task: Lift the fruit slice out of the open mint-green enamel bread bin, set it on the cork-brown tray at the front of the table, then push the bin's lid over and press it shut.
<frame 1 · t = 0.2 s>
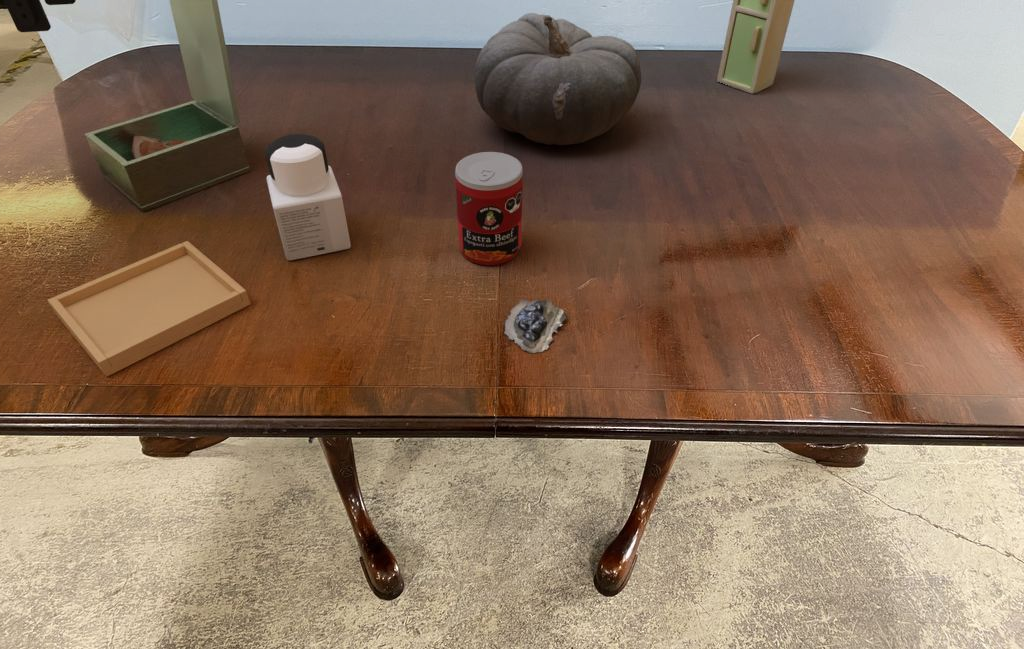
hand: (49, 16, 76), 23 cm above the table, tool pointing down, fingers open, 9 cm apart
container: (315, 240, 84), on the table
bread bin: (178, 175, 95), on the table
canned food: (490, 249, 82), on the table
gourd: (556, 126, 109), on the table
bin lid: (202, 49, 90), point 15 cm above the table, hinge at 95.0°
toy refrigerator: (742, 85, 122), on the table
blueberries: (535, 329, 71), on the table
tray: (154, 309, 73), on the table
fruit slice: (173, 172, 94), point 1 cm above the table, touching bread bin
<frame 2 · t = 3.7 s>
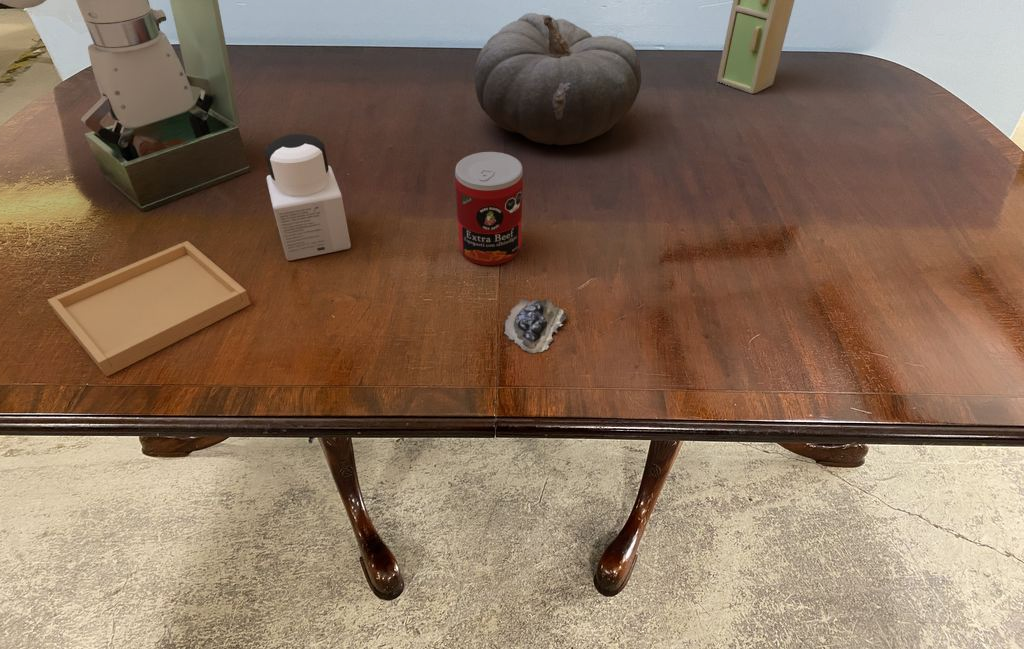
hand: (172, 156, 93), 3 cm above the table, tool pointing down, fingers open, 9 cm apart
bin lid: (202, 49, 90), point 15 cm above the table, hinge at 95.3°, touching gripper
everything else where it was.
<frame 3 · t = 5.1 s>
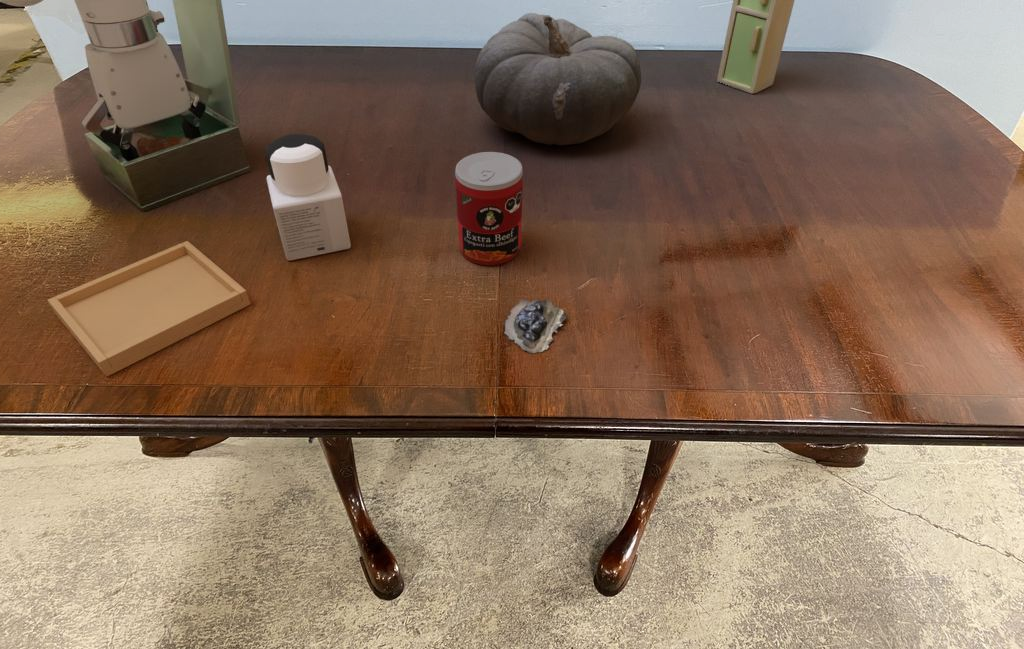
hand: (168, 160, 93), 2 cm above the table, tool pointing down, fingers closed on fruit slice, 7 cm apart
bin lid: (204, 49, 90), point 15 cm above the table, hinge at 96.8°
fruit slice: (171, 169, 94), point 1 cm above the table, touching gripper
everything else where it was.
when the fingers open (2 cm above the table, at t = 12.4 s): fruit slice stays where it is, resting on tray.
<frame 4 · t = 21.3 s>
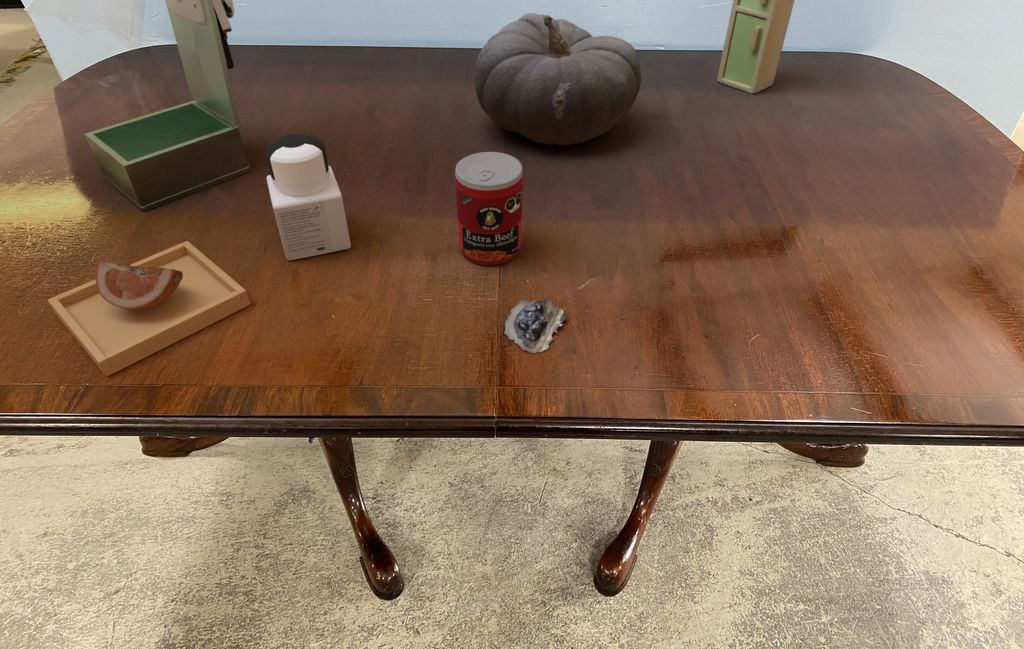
hand: (220, 69, 92), 12 cm above the table, tool pointing down, fingers closed
bin lid: (200, 50, 89), point 15 cm above the table, hinge at 92.6°, touching gripper
fruit slice: (151, 304, 73), point 1 cm above the table, touching tray
everything else where it was.
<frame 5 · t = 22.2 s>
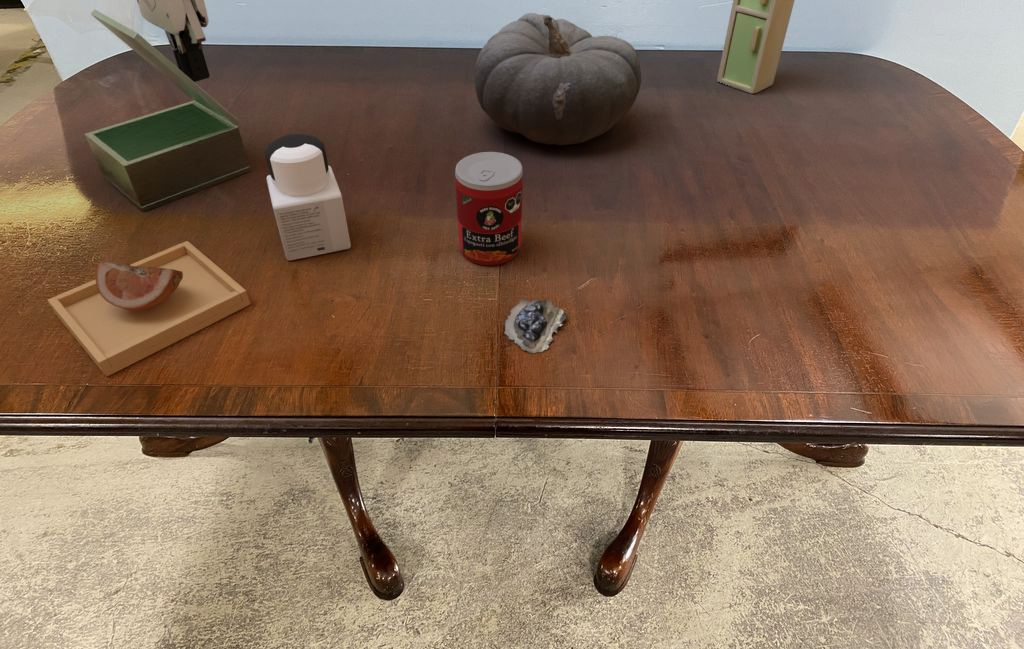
hand: (196, 78, 91), 12 cm above the table, tool pointing down, fingers closed
bin lid: (168, 69, 88), point 14 cm above the table, hinge at 56.6°, touching gripper
everything else where it was.
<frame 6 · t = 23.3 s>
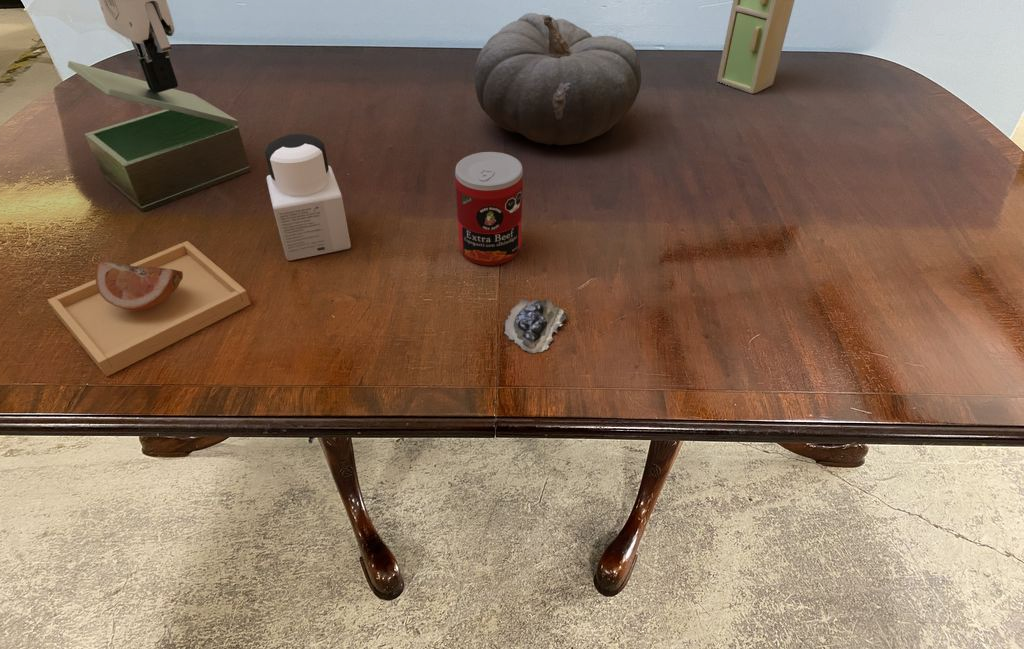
hand: (164, 88, 88), 12 cm above the table, tool pointing down, fingers closed
bin lid: (156, 94, 88), point 11 cm above the table, hinge at 31.2°
everything else where it was.
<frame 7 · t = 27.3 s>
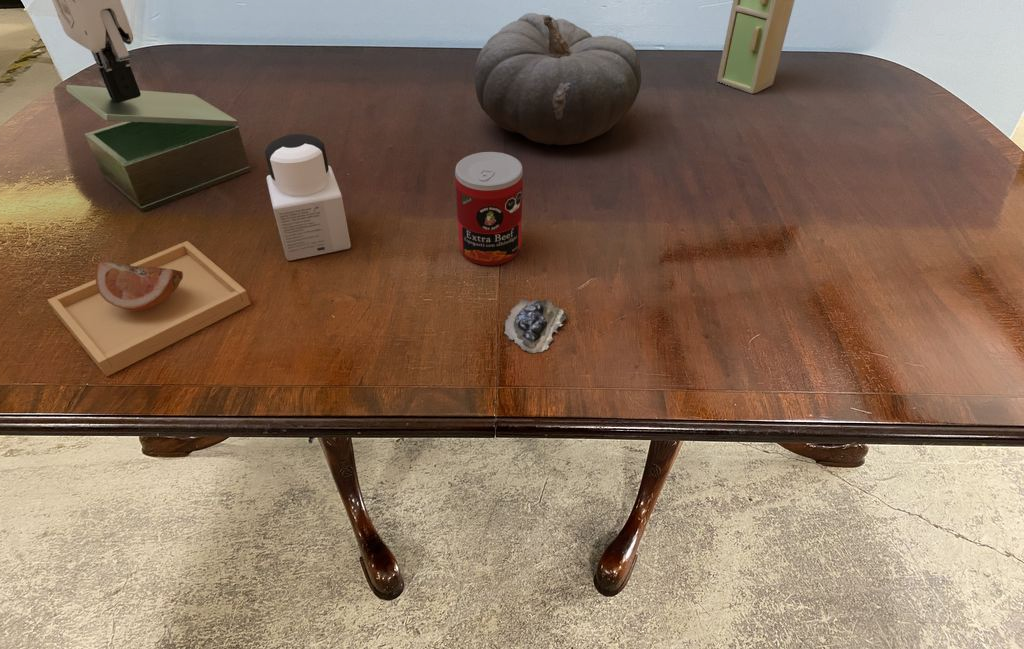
hand: (126, 97, 85), 12 cm above the table, tool pointing down, fingers closed
bin lid: (154, 106, 88), point 10 cm above the table, hinge at 20.5°, touching gripper
everything else where it was.
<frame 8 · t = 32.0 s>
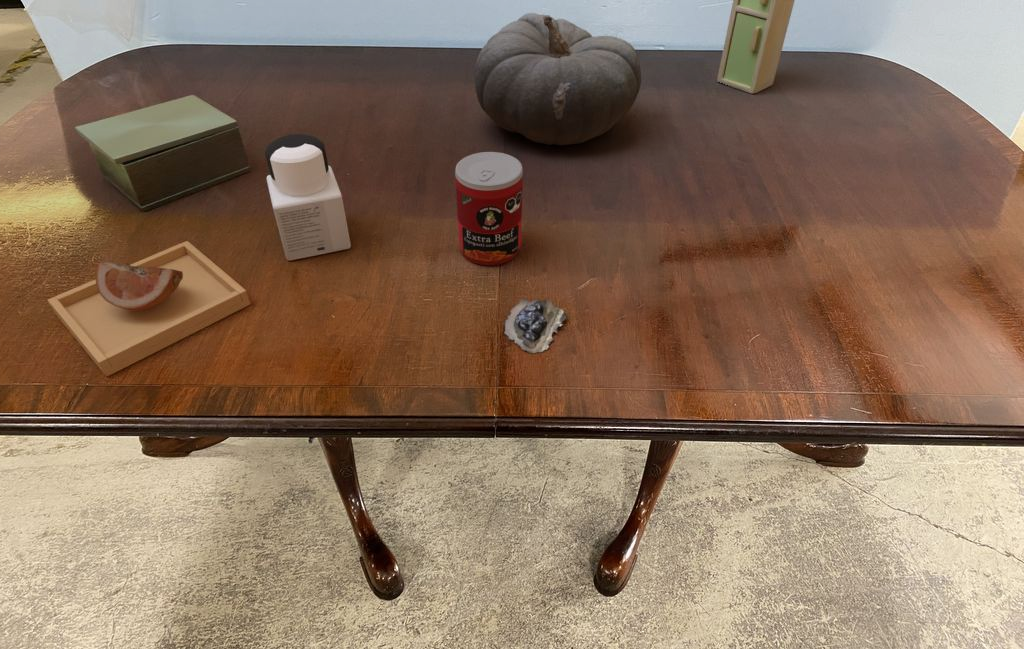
bin lid: (157, 126, 90), point 7 cm above the table, hinge at 1.3°
everything else where it was.
at the end: fruit slice inside the target area in the tray (0.2 cm from its centre), point 0.6 cm above the tray's base; the gripper is holding nothing; bin lid at +1° (first picture: +95°) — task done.
